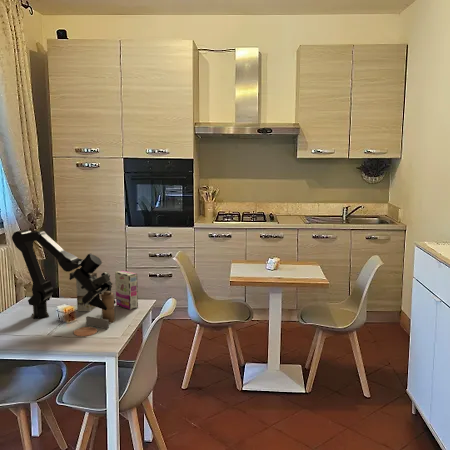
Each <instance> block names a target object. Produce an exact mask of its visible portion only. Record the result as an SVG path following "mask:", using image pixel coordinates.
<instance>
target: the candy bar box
mask: <svg viewBox="0 0 450 450" xmlns="http://www.w3.org/2000/svg"><path fill="white" fill-rule="evenodd" d="M114 275H115V278H114V279H115V301H116V303H115V305H116V306H117V305H119V306H118V307H120V306H121V308H123V307H124V309H126V308H127V310H129V309H130V311H131V310H135V309H137V308H139V296H138V294H139V293H138V292H139V291H138V273H135V272H131V271H126V270H118V271H114Z"/></svg>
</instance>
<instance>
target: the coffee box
mask: <svg viewBox="0 0 450 450" xmlns="http://www.w3.org/2000/svg"><path fill="white" fill-rule="evenodd" d="M89 274H90V275H91V276H92V277H94V276H96V277H97V278H98V273H97V272H93V273H89ZM75 283H76V285H75V286H76V305H77V307H76V308H77V311H78V312H91V311H92V310H94V309H96V307H95V306H92V305H88V303H89V302H88V303H87V304H84V303H83V302H82V298H83V297H84V296H85V295H86V294H87V291H86V290H85V288H84V289H82V288H81V287H82V285H81V284H80V283H79V282H78V281H77V280H76V279H75Z"/></svg>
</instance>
